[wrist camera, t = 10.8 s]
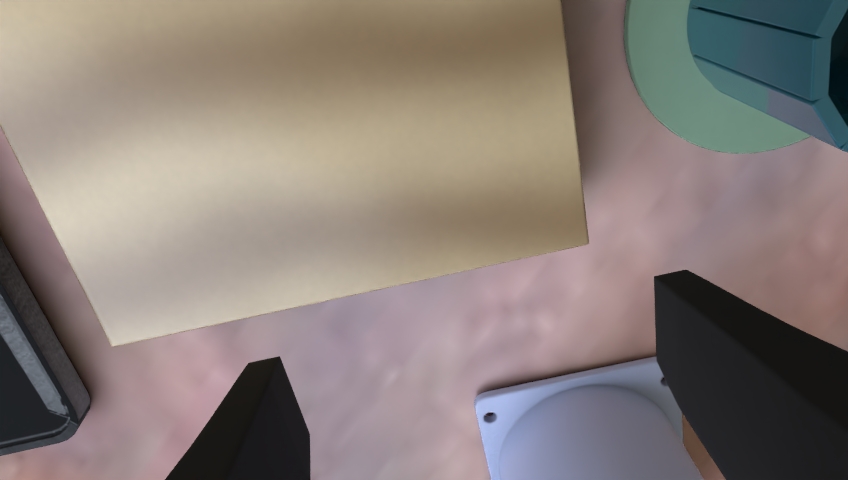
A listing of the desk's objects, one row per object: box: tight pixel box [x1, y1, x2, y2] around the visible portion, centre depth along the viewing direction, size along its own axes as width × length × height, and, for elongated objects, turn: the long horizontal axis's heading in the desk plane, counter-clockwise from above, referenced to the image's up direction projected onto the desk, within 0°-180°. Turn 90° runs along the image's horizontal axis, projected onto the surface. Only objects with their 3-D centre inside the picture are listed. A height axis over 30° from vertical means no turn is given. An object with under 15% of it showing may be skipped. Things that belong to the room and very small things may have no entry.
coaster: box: [624, 0, 811, 154], centre depth 20 cm, size 9×9×1 cm
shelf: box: [0, 0, 589, 347], centre depth 18 cm, size 14×15×5 cm
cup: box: [687, 0, 848, 152], centre depth 17 cm, size 5×5×6 cm
